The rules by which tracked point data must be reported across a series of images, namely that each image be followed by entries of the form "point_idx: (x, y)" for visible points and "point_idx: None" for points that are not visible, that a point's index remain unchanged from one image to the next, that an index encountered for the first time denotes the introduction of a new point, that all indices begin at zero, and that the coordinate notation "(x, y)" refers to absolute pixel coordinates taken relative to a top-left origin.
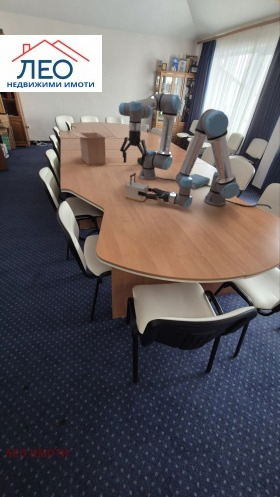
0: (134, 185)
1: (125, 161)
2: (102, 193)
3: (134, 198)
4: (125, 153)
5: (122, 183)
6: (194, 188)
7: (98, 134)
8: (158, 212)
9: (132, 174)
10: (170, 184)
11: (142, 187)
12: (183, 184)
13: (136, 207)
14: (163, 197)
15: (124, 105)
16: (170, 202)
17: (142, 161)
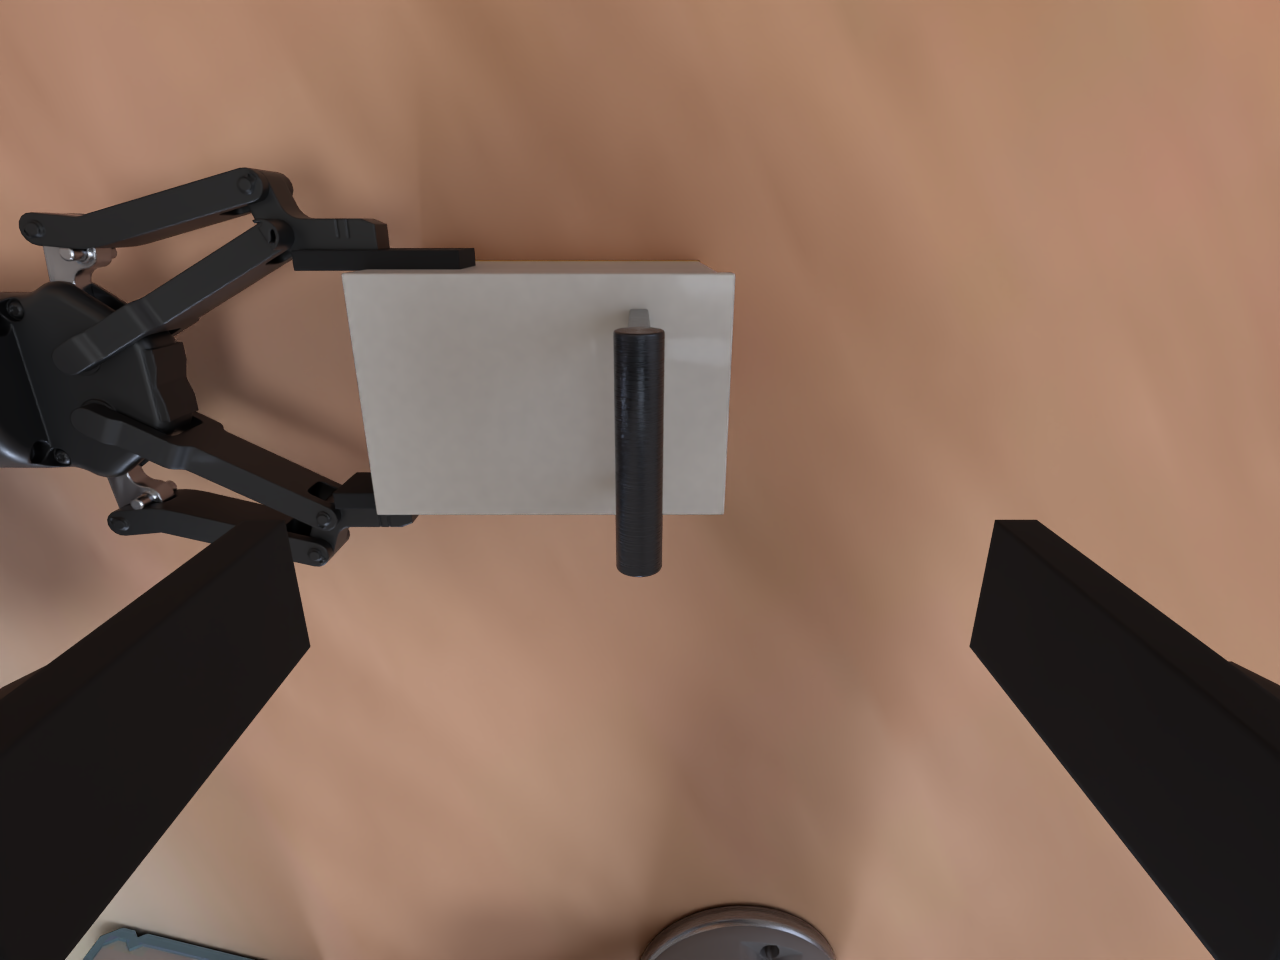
0: (571, 344)
1: (998, 612)
2: (1093, 207)
3: (552, 261)
4: (1261, 870)
5: (947, 679)
6: (110, 936)
7: None
8: (39, 40)
9: (638, 426)
10: (409, 922)
11: (395, 336)
12: None
13: (394, 13)
14: (5, 294)
15: None
16: None
17: (119, 630)
